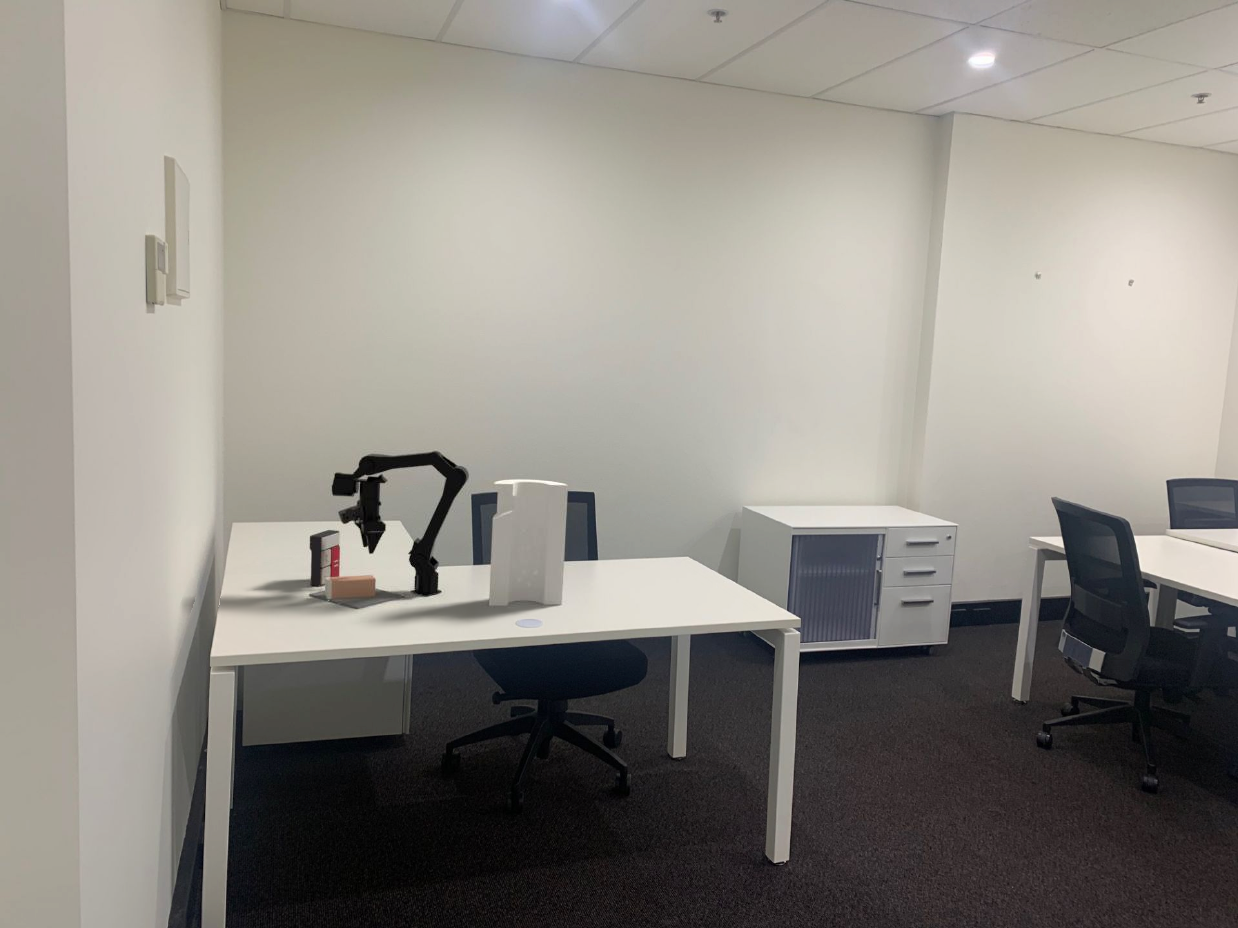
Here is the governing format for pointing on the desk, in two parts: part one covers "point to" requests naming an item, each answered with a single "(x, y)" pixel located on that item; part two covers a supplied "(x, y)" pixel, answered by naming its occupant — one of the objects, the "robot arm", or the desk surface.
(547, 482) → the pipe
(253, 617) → the desk surface
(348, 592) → the peach block
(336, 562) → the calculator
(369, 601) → the grey mat
